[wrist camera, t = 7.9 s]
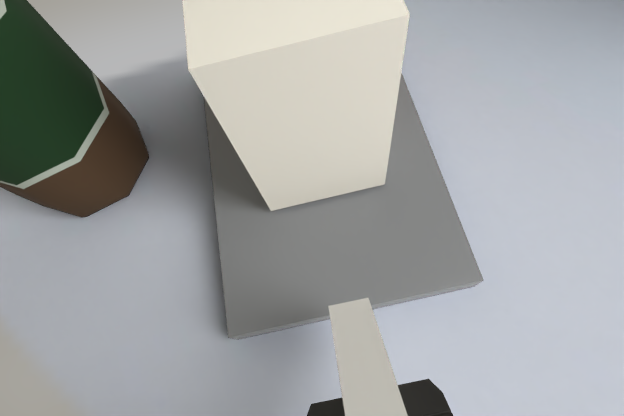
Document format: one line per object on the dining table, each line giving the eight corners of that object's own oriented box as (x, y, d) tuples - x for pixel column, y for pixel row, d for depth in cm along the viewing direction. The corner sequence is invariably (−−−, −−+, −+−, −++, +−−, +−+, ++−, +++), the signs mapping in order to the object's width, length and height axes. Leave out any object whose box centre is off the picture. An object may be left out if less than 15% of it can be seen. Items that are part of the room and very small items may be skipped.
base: (380, 40, 25) (381, 21, 23) (473, 286, 18) (483, 280, 17) (209, 82, 25) (200, 66, 24) (238, 339, 18) (228, 337, 17)
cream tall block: (364, 121, 20) (370, -76, 11) (384, 184, 19) (409, 14, 10) (260, 146, 20) (180, -27, 11) (270, 211, 19) (188, 69, 10)
